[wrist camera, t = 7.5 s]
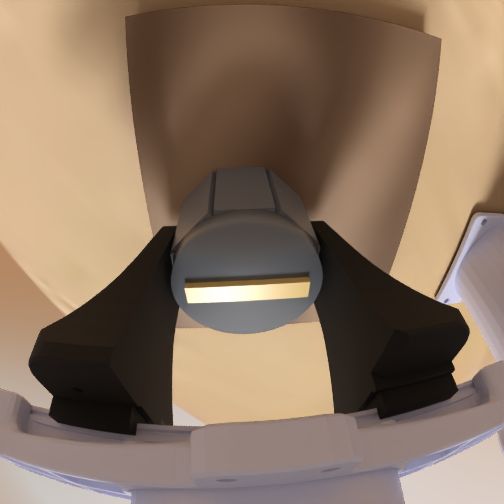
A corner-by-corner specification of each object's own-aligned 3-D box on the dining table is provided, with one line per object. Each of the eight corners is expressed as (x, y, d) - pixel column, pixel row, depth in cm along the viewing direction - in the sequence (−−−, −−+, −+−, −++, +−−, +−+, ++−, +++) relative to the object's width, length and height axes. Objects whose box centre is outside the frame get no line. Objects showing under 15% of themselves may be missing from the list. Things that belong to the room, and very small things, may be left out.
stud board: (425, 36, 9) (486, 46, 6) (366, 302, 19) (386, 351, 16) (134, 19, 8) (94, 11, 5) (178, 312, 18) (171, 368, 15)
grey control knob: (304, 166, 12) (335, 225, 8) (295, 263, 15) (313, 333, 12) (176, 171, 12) (155, 233, 8) (191, 268, 15) (184, 341, 11)
